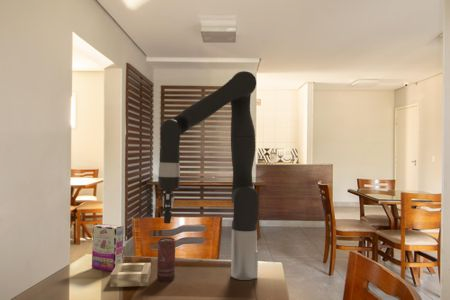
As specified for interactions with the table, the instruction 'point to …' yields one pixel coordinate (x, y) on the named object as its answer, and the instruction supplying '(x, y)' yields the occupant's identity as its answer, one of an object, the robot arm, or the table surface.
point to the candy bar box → (107, 246)
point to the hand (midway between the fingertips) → (167, 221)
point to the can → (166, 259)
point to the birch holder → (130, 274)
